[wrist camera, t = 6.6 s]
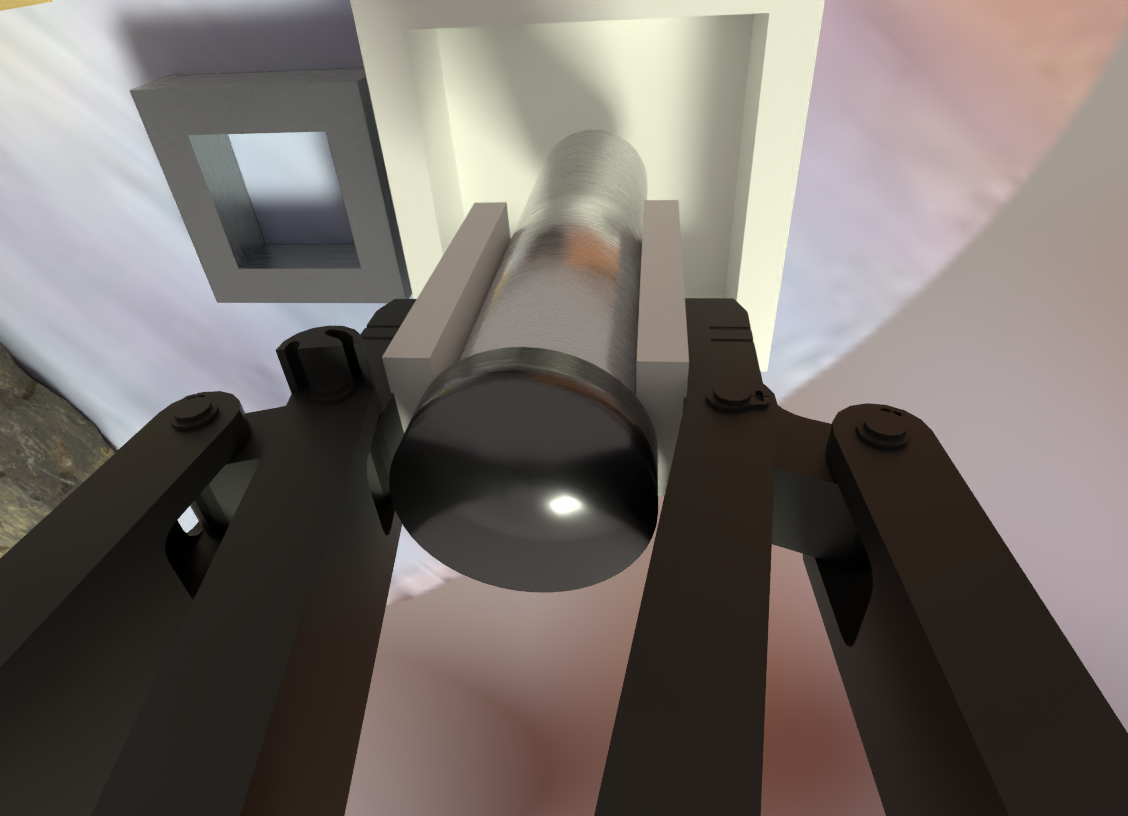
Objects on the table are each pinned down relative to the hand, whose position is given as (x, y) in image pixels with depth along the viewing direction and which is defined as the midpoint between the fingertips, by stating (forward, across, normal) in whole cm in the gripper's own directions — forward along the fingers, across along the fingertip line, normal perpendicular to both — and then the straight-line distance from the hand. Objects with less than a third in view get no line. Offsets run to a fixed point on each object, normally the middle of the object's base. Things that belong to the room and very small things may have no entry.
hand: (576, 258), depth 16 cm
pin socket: (+7, -10, 0) cm, 12 cm away
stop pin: (+5, 0, 0) cm, 5 cm away
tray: (+7, 0, 0) cm, 7 cm away
